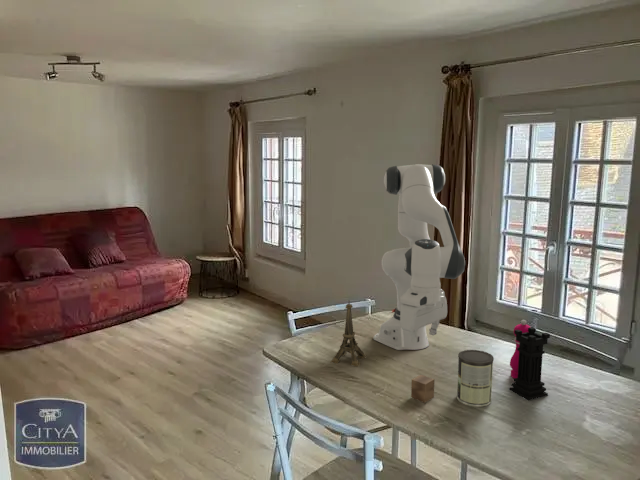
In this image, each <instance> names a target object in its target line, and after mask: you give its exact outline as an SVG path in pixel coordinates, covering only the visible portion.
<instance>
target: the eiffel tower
mask: <svg viewBox="0 0 640 480" xmlns="http://www.w3.org/2000/svg"><path fill="white" fill-rule="evenodd" d="M352 308H353V304H351V303H350V301H348V303H347V304H346V305H345V309H346V317H345V324H344V325H345V326H344V333H343V334H342V337H343V339H342V342H341V345H339V347H340V348H339V349H338V351H337V353H336V354H335V355H334V357H333V358H332V359H331V361H330V363H331V362H334V363H333V364H339V362H340V361H341V357H342V355H344V356H347V354H348V353H349V354H350V355H351V363H350V366H351V365H354V366H353V367H360V365H361V362H360V361H359V359H363V358H364V359H366V358H367V357H368V356H367V355H366V354H365V353H364V352H363V350H362V349H361V348H360V347H359V345H358V343H357V341H356V338H355V335H356V332H355V331H354V325H353V317H352V316H353V315H352ZM348 341H349V342H348ZM355 353H356V354H357V356H356V354H355ZM357 357H358V358H357ZM365 357H366V358H365Z"/></svg>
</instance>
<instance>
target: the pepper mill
mask: <svg viewBox="0 0 640 480" xmlns="http://www.w3.org/2000/svg"><path fill="white" fill-rule="evenodd" d="M530 327H531V325H529V324H527V320H525V319H522V320H521V321H520V324H517V325H515V326H514V328H513V331H514V330H521V331H522V333H525V332H528V328H530ZM513 335H514V336H515V337H514V343H515V350H514V353H513V354H512V356H511V358H510V361H509V366H510V368H511V370H510V377H511V378H513V380H514V379H515V378H518V361H519V351H518V350H517V348H519V344H520V342H519V341H517V340H516V334H514V333H513Z"/></svg>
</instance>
